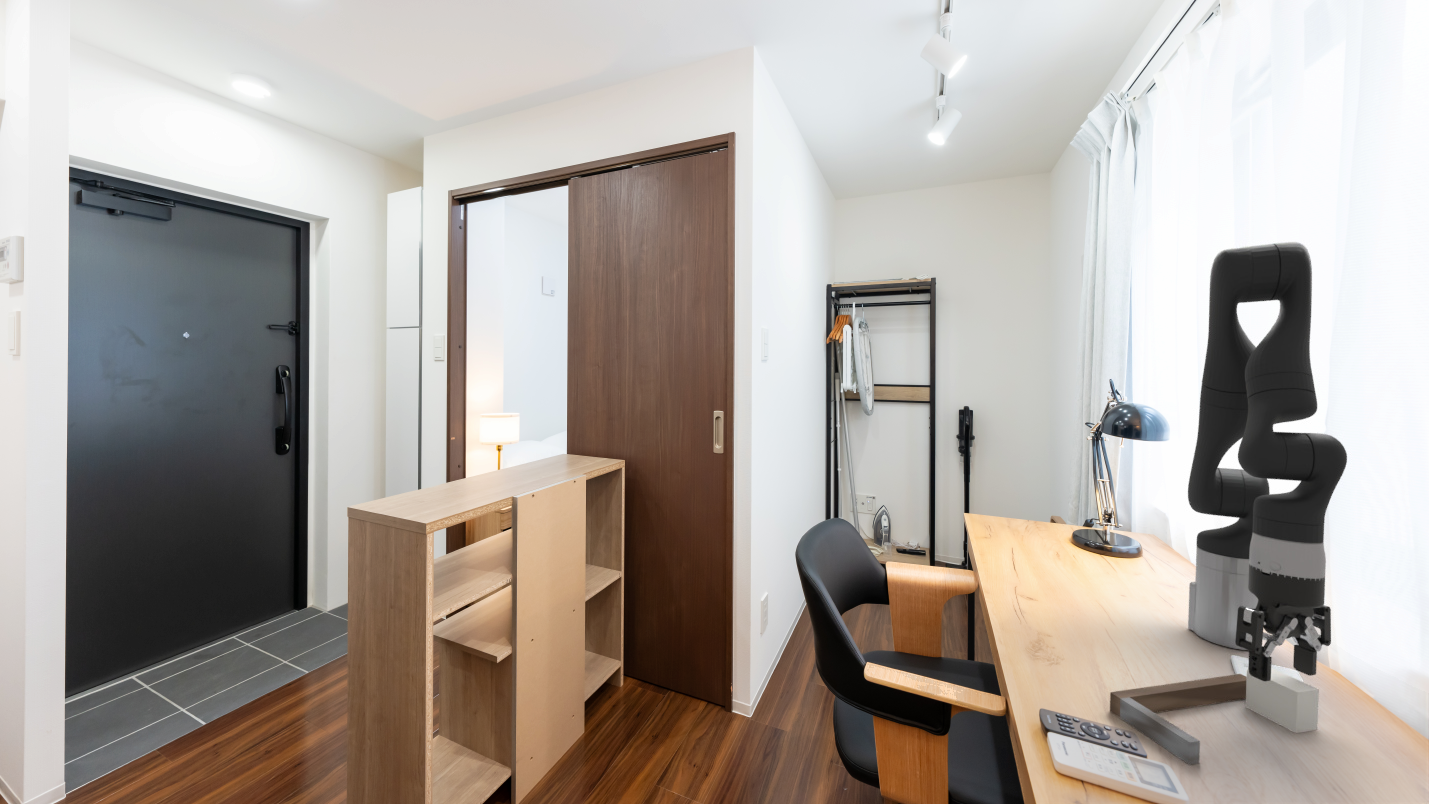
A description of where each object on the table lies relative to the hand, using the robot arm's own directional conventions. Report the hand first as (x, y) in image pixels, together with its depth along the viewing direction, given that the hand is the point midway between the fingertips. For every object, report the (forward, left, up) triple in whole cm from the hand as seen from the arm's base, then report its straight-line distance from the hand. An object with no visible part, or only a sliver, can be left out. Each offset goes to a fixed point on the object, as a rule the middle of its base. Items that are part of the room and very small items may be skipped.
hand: (1282, 675), depth 76 cm
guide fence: (-1, -11, -7) cm, 12 cm away
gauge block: (0, 0, -7) cm, 7 cm away
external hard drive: (-7, +9, -7) cm, 14 cm away
